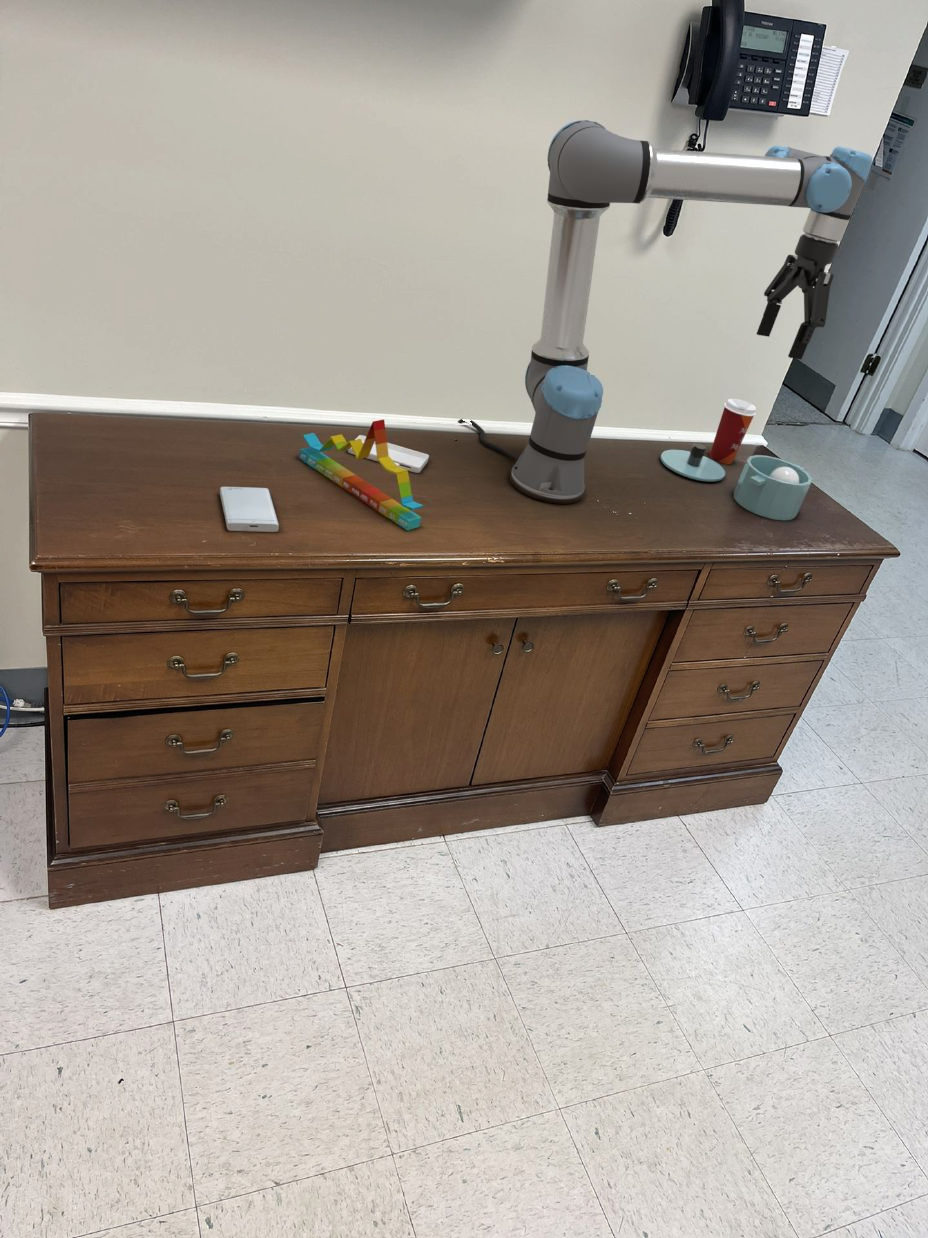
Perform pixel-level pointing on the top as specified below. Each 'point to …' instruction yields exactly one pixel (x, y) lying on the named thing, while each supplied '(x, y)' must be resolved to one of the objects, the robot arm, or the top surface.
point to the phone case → (399, 456)
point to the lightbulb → (785, 475)
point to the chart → (357, 484)
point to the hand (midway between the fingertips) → (778, 346)
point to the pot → (770, 488)
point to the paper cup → (732, 429)
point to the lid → (693, 464)
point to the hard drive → (248, 509)
